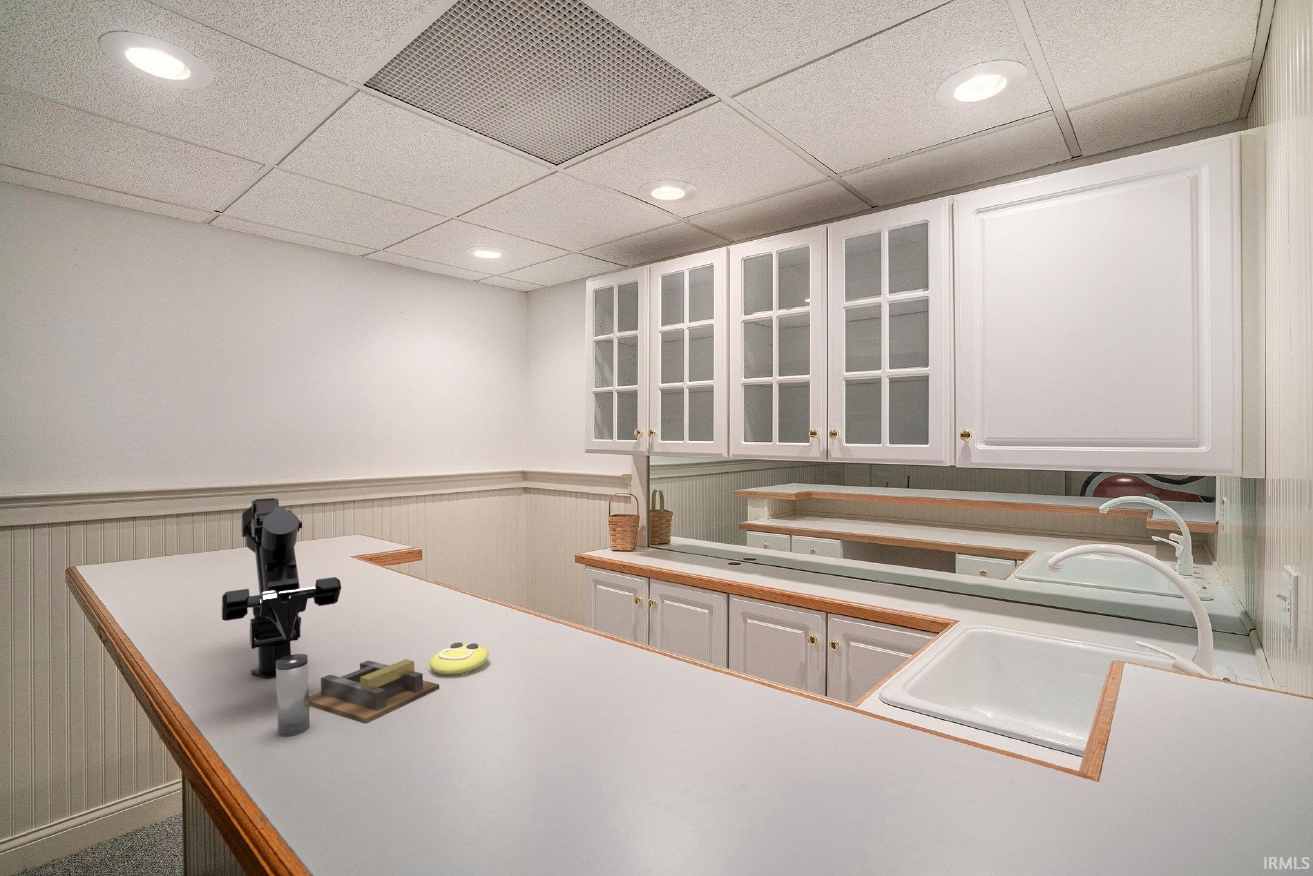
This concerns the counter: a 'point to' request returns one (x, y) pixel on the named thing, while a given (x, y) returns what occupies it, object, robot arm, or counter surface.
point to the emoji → (458, 658)
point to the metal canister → (292, 694)
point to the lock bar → (386, 674)
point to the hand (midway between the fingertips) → (288, 638)
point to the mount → (368, 693)
